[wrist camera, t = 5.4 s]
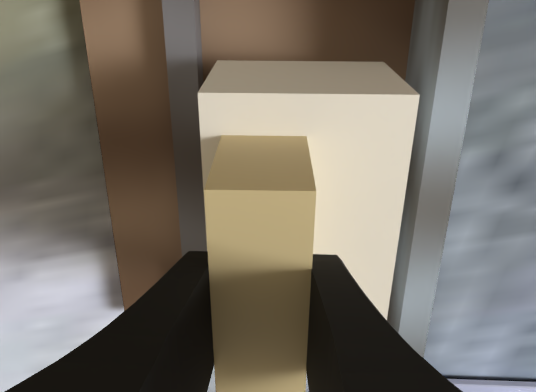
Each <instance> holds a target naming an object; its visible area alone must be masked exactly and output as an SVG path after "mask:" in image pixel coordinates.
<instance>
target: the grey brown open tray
mask: <svg viewBox="0 0 536 392" xmlns="http://www.w3.org/2000/svg"><path fill="white" fill-rule="evenodd" d="M79 1H80V8H81V15H82V22H83V29H84V35H85V42H86V49H87V56H88V63H89V70H90V77H91V84H92V91H93V97H94V104H95V111H96V118H97V125H98V132H99V139H100V146H101V152H102V159H103V166H104V173H105V180H106V187H107V194H108V201H109V208H110V214H111V221H112V228H113V235H114V242H115V249H116V256H117V263H118V269H119V276H120V283H121V290H122V297H123V304H124V311H125V310H127V309H128V308H129V307H130V306H131V305H132V304H134V303H135V302H136V301H137V300H138V299H139V298H140V297H141V296H142V295H143V294H144V293H146V292H147V291H148V290H149V289H150V288H151V287H152V286H153V285H154V284H155V283H156V282H157V281H158V280H159V279H160V278H161V277H162V276H163V275H164V274H165V273H166V272H167V271H168V270H169V269H170V268H171V267H172V266H173V265H174V264H175V263H176V262H177V261H178V260H179V259H181V258H182V257H183V256H184V255H185V254H186V253H187V252H188V251H207V242H206V225H205V208H204V192H203V175H202V158H201V141H200V125H199V108H198V91H199V90H200V88H201V86H202V85H203V83H204V81H205V80H206V78H207V76H208V75H209V73H210V71H211V70H212V68H213V67H214V65H215V63H216V62H217V60H236V61H353V62H384V63H386V64H387V65H388V66H389V67H390V68H391V69H392V70H393V71H394V72H395V73H397V74H398V75H399V76H400V77H401V78H402V79H403V80H404V81H405V82H406V83H408V84H409V85H410V86H411V87H412V88H413V89H414V90H415V91H416V92H417V93H418V94H420V97H419V104H418V111H417V118H416V125H415V131H414V138H413V145H412V152H411V159H410V165H409V172H408V179H407V186H406V193H405V199H404V206H403V213H402V220H401V227H400V233H399V240H398V247H397V254H396V261H395V268H394V274H393V281H392V288H391V295H390V302H389V308H388V315H387V321H388V322H389V324H390V325H391V326H392V327H393V328H394V329H395V330H396V331H397V332H398V333H399V334H400V336H401V337H402V338H403V339H404V340H405V341H406V342H407V343H408V344H409V345H410V346H411V347H412V348H413V349H414V350H415V351H416V352H417V353H418V354H419V355H420V356H421V357H424V351H425V346H426V341H427V335H428V330H429V324H430V319H431V313H432V308H433V302H434V297H435V291H436V286H437V281H438V275H439V270H440V264H441V259H442V253H443V248H444V242H445V237H446V231H447V226H448V221H449V215H450V210H451V204H452V199H453V193H454V188H455V182H456V177H457V171H458V166H459V161H460V155H461V150H462V144H463V139H464V133H465V128H466V122H467V117H468V111H469V106H470V101H471V95H472V90H473V84H474V79H475V73H476V68H477V62H478V57H479V51H480V46H481V41H482V35H483V30H484V24H485V19H486V13H487V8H488V2H489V0H79Z"/></svg>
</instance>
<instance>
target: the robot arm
mask: <svg viewBox="0 0 536 392" xmlns="http://www.w3.org/2000/svg"><path fill="white" fill-rule="evenodd" d="M213 366H214V350H213V333H212V316H211V300H210V283H209V266H208V251H188V252H187V253H186V254H185V255H184V256H183V257H182V258H181V259H179V260H178V261H177V262H176V263H175V264H174V265H173V266H172V267H171V268H170V269H169V270H168V271H167V272H166V273H165V274H164V275H163V276H162V277H161V278H160V279H159V280H158V281H157V282H156V283H155V284H154V285H153V286H152V287H151V288H150V289H149V290H148V291H147V292H146V293H144V294H143V295H142V296H141V297H140V298H139V299H138V300H137V301H136V302H135V303H134V304H132V305H131V306H130V307H129V308H128V309H127V310H125V311H124V312H123V313H122V314H121V315H119V316H118V317H117V318H116V319H115V320H113V321H112V322H111V323H110V324H109V325H107V326H106V327H105V328H103V329H102V330H101V331H100V332H98V333H97V334H96V335H94V336H93V337H91V338H90V339H89V340H87V341H86V342H84V343H83V344H81V345H80V346H79V347H77V348H76V349H74V350H73V351H71V352H70V353H68V354H67V355H65V356H64V357H62V358H61V359H59V360H58V361H56V362H55V363H53V364H51V365H49V366H48V367H46V368H44V369H43V370H41V371H39V372H38V373H36V374H34V375H32V376H31V377H29V378H27V379H26V380H24V381H22V382H21V383H19V384H17V385H15V386H14V387H12V388H10V389H9V390H7V391H5V392H207V390H208V386H209V382H210V378H211V374H212V370H213ZM306 371H307V378H308V386H309V392H536V382H523V381H495V380H467V379H446V378H445V377H444V376H443V375H442V374H440V373H439V372H438V371H437V370H436V369H435V368H434V367H432V366H431V365H430V364H429V363H428V362H427V361H426V360H425V359H424V358H423V357H421V356H420V355H419V354H418V353H417V352H416V351H415V350H414V349H413V348H412V347H411V346H410V345H409V344H408V343H407V342H406V341H405V340H404V339H403V338H402V337H401V336H400V334H399V333H398V332H397V331H396V330H395V329H394V328H393V327H392V326H391V325H390V324H389V322H388V321H387V320H386V319H385V318H384V317H383V315H382V314H381V313H380V312H379V311H378V309H377V308H376V307H375V306H374V304H373V303H372V302H371V301H370V299H369V298H368V297H367V296H366V294H365V293H364V292H363V290H362V289H361V288H360V286H359V285H358V284H357V282H356V281H355V279H354V278H353V277H352V275H351V274H350V272H349V271H348V269H347V268H346V266H345V265H344V263H343V261H342V260H341V259H340V258H339V257H338V255H327V254H313V261H312V270H311V288H310V306H309V325H308V343H307V361H306Z"/></svg>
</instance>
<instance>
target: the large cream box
mask: <svg viewBox="0 0 536 392" xmlns="http://www.w3.org/2000/svg"><path fill="white" fill-rule="evenodd" d="M419 97H420V94H418V93H417V92H416V91H415V90H414V89H413V88H412V87H411V86H410V85H409V84H408V83H406V82H405V81H404V80H403V79H402V78H401V77H400V76H399V75H398V74H397V73H395V72H394V71H393V70H392V69H391V68H390V67H389V66H388V65H387V64H386V63H384V62H353V61H236V60H217V62H216V63H215V65H214V67H213V68H212V70H211V71H210V73H209V75H208V76H207V78H206V80H205V81H204V83H203V85H202V86H201V88H200V90H199V91H198V108H199V125H200V141H201V158H202V175H203V192H204V208H205V225H206V242H207V251H208V266H209V283H210V300H211V316H212V333H213V350H214V367H215V384H216V392H305V387H306V361H307V343H308V325H309V306H310V288H311V270H312V261H313V254H327V255H338V257H339V258H340V259H341V260H342V261H343V263H344V265H345V266H346V268H347V269H348V271H349V272H350V274H351V275H352V277H353V278H354V279H355V281H356V282H357V284H358V285H359V286H360V288H361V289H362V290H363V292H364V293H365V294H366V296H367V297H368V298H369V299H370V301H371V302H372V303H373V304H374V306H375V307H376V308H377V309H378V311H379V312H380V313H381V314H382V315H383V317H384V318H385V319H386V320H387V315H388V308H389V302H390V295H391V288H392V281H393V274H394V268H395V261H396V254H397V247H398V240H399V233H400V227H401V220H402V213H403V206H404V199H405V193H406V186H407V179H408V172H409V165H410V159H411V152H412V145H413V138H414V131H415V125H416V118H417V111H418V104H419Z"/></svg>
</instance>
